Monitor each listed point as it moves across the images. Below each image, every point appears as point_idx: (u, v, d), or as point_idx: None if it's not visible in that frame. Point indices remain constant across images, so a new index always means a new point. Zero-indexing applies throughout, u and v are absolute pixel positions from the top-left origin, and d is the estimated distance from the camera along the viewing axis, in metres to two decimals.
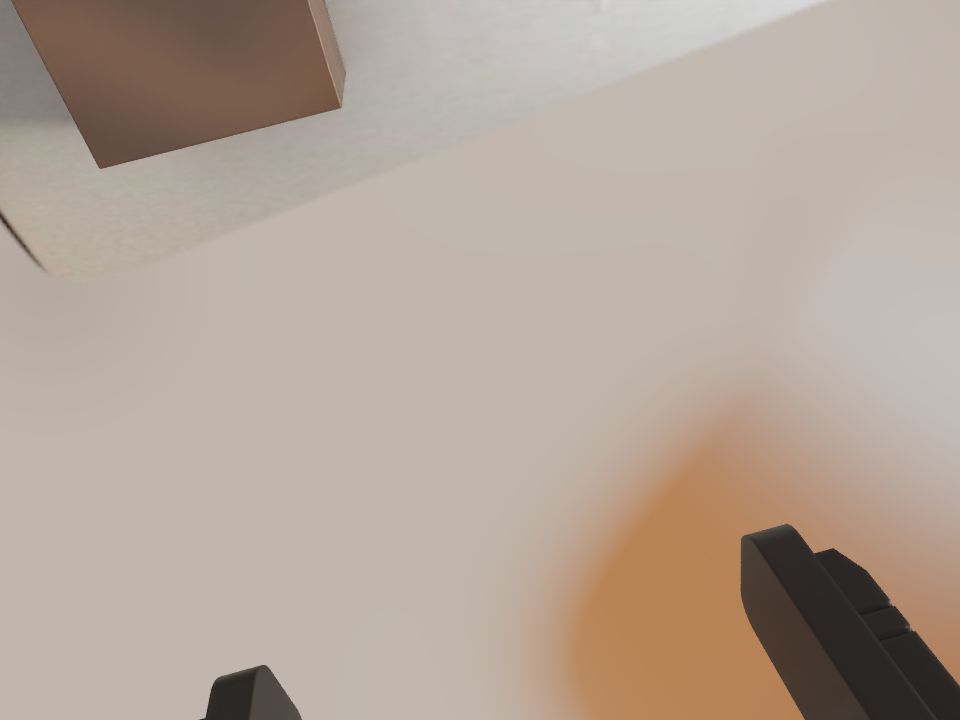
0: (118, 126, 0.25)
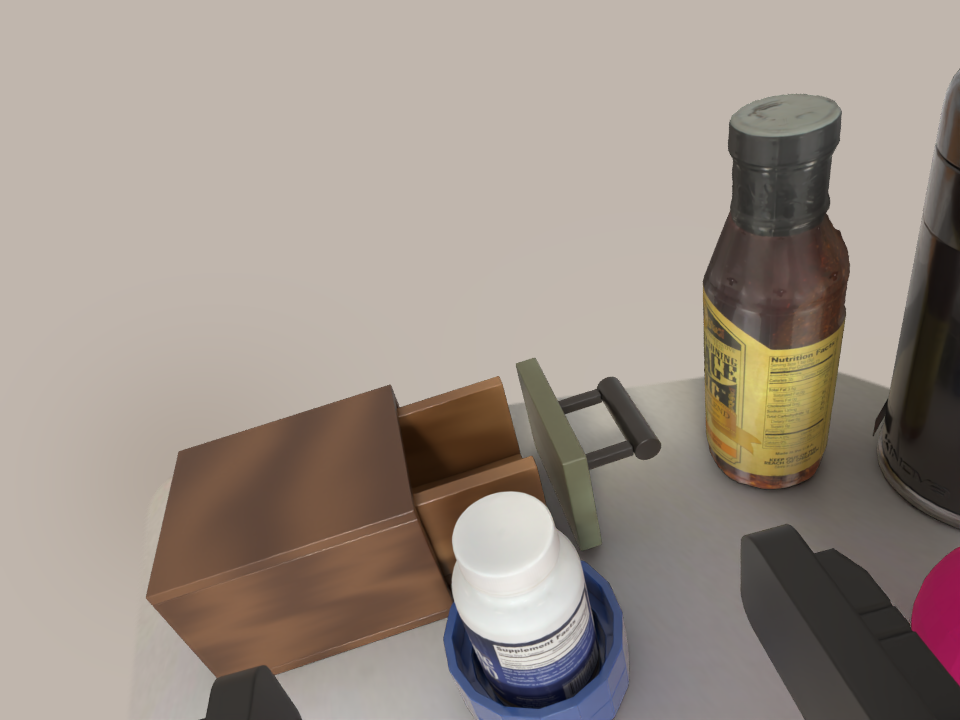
0: (198, 461, 0.36)
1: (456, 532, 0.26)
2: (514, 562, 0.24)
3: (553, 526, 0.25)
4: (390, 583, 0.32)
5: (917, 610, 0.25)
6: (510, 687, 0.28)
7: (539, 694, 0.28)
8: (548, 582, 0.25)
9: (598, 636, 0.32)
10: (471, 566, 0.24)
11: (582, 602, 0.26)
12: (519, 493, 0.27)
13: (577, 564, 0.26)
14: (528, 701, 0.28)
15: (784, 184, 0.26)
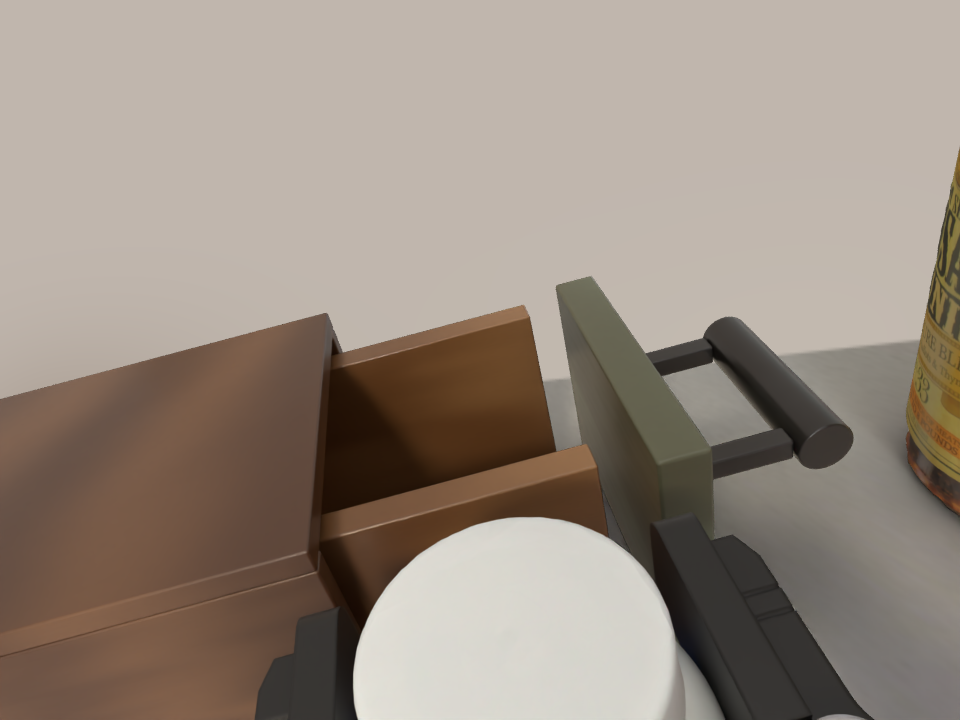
0: None
1: (372, 630, 0.09)
2: None
3: (672, 637, 0.08)
4: None
5: None
6: None
7: None
8: None
9: None
10: None
11: None
12: (563, 524, 0.10)
13: None
14: None
15: None
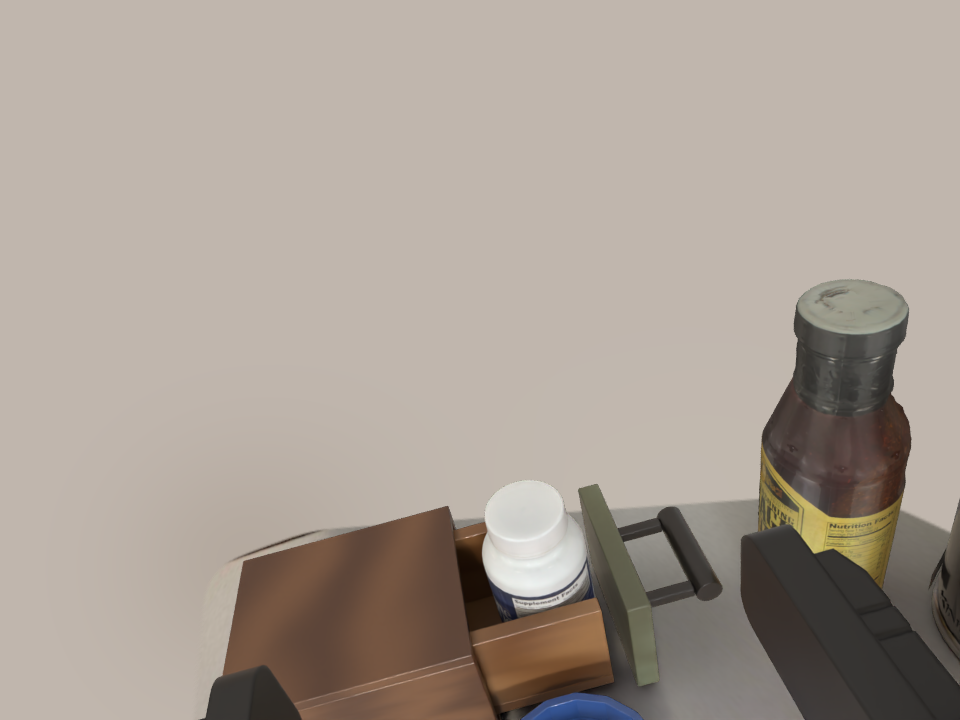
0: (262, 574, 0.37)
1: (488, 508, 0.33)
2: (531, 531, 0.32)
3: (563, 507, 0.32)
4: (443, 717, 0.33)
5: None
6: None
7: None
8: (557, 550, 0.33)
9: None
10: (498, 533, 0.32)
11: (584, 570, 0.34)
12: (538, 481, 0.34)
13: (581, 540, 0.34)
14: None
15: (850, 373, 0.27)
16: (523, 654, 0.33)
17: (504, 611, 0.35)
